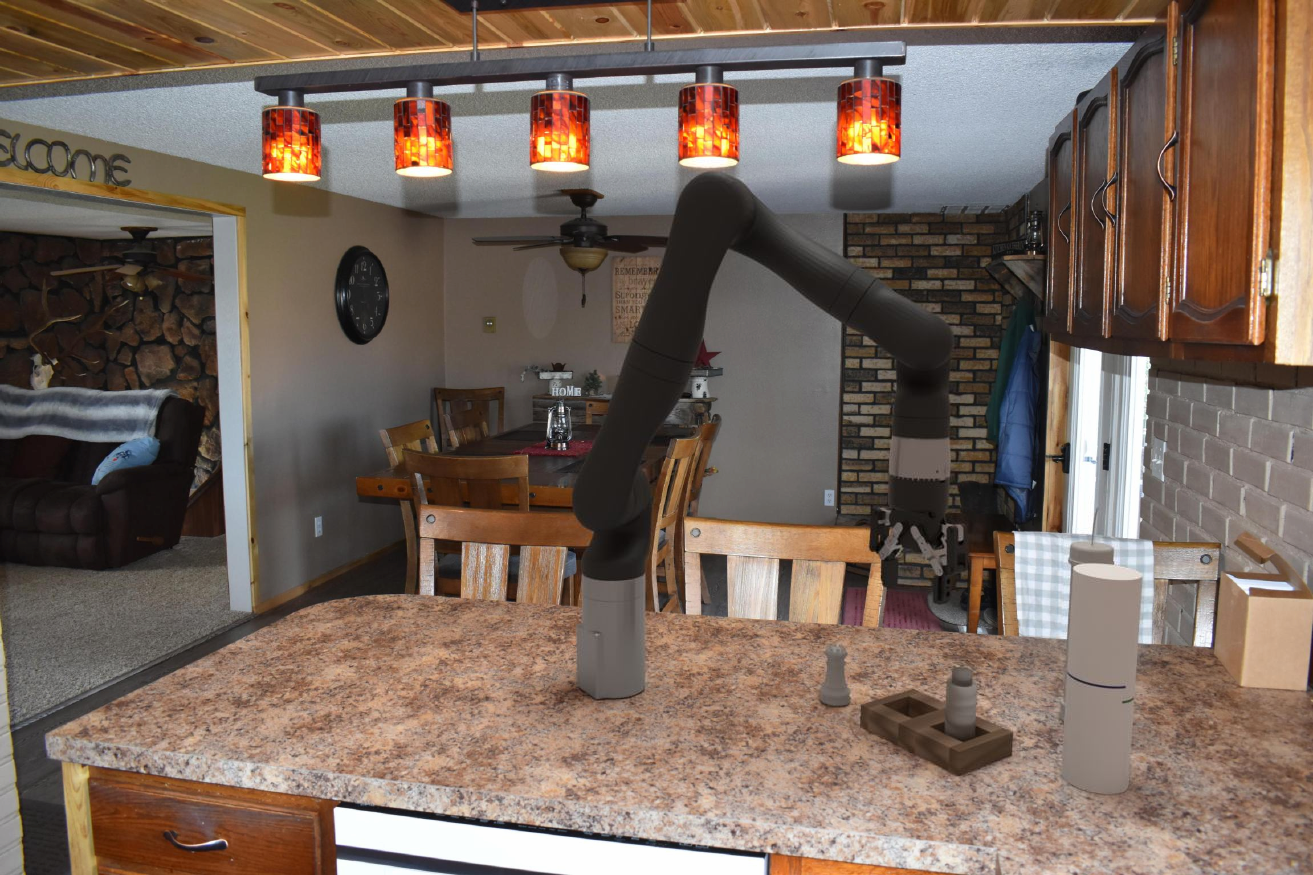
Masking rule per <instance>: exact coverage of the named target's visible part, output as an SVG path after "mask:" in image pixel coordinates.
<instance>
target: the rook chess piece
mask: <svg viewBox="0 0 1313 875" xmlns="http://www.w3.org/2000/svg"><path fill="white" fill-rule="evenodd" d="M823 653H824V654H825V656H826V658H827V660H826V661H825V665H826V673H825V678H824V680H823V682H822V685H821V686H820V688H819V692H820V694H819V695H818V697H819V700H820V701H821V702H822V703H823V704H824V705H827V706H829V707H830V706H831V707H844V706H846V705H847V706H848V704H849V703H850V701H851V699H852V698H851V696H850V695H851V690H850V688H849V687H848V683H847V682H846V681H847V680H846V674H845V666H846V665H847V664H846V661H845V659H846V658H847V657H848V652H847V650H846V645H843V644H842V643H839V644H838V646H837V643H832V644H831V643H829V644H827V646H826V650H824V652H823Z"/></svg>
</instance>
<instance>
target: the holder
mask: <svg viewBox="0 0 1313 875" xmlns="http://www.w3.org/2000/svg"><path fill="white" fill-rule="evenodd" d="M973 673H974V672H973V670H972V669H971V668H967V667H963V666H956V667H953V668H952V670H951V677H949V678H948V679H947V680H946V684H945V685H946V688H945V702H944V701H942V700H940V699H937V698H935V697H933V696H931V695H928V694H926V693H923V692H922V691H919V690H918V689H914V688H912V689H908V690H905V691H901V692H898V693H895V694H892V695H888V696H886V697H882V698H879V699H875V700H871V701H869V702H865V703H861V704H860V721H859V726H860V727H861V728H862V729H865V730H867V731H869V732H870V733H872V734H875V735H877V736H879V737H880V738H883V739H884V740H886V741H888V742H890V743H892V744H894V745H896V746H898V747H900V748H902V749H903V750H906V751H908V752H909V753H912V754H914V755H916V756H918V757H920V758H921V759H924V760H926V761H928V762H930V763H932V764H933V765H936V766H937V767H939V768H941V769H943V770H945V771H947V772H950V773H951V774H953V775H955V776H957V777H959V776H962V775H964V774H967V773H969V772H972V771H975V770H977V769H979V768H982V767H985V766H989V765H991V764H993V763H996V762H998V761H1000V760H1003V759H1006V758H1008V757H1010V756H1013V744H1014V743H1013V742H1014V732H1013V731H1012V730H1010V729H1008V728H1004V727H1003V726H1000V725H998V724H995V723H994V722H992V721H988V720H986V719H984V718H982V717H979V716H977V700H978V699H977V698H978V683H977V682H976V681H974V680H973Z"/></svg>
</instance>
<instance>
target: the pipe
mask: <svg viewBox="0 0 1313 875" xmlns="http://www.w3.org/2000/svg"><path fill="white" fill-rule="evenodd" d="M1096 507H1097V508H1096V509H1095V512H1094V517H1093V524H1092V531H1091V532H1092V533H1091V540H1089V541H1087V540H1079V541H1078V540H1077V541H1074V542H1071V544H1070V546H1069V556H1068V558H1067V563H1068V565H1069V564H1070V565H1071V566H1070V579H1069V580H1070V583H1069V600H1068V616H1067V633H1066V651H1065V665H1064V666H1065V667H1064V680H1063V681H1064V684H1063V696H1062V697H1060V700H1059V706H1060V715H1059V717H1060V719H1061V721H1062V722H1063V723H1064V715H1065V698H1066V681H1067V664H1068V647H1069V630H1070V613H1071V596H1072V579H1073V567H1074V566H1076V565H1079V564H1089V563H1096V564H1109V565H1115V561H1114V556H1115V555H1114V554H1115V547H1113V546H1112V545H1110V544H1108V543H1104V542H1099V541H1094V539H1095V538H1094V536H1095V528H1096V520H1097V516H1098V511H1099V508H1100V507H1099V506H1096Z"/></svg>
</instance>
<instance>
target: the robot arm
mask: <svg viewBox="0 0 1313 875" xmlns="http://www.w3.org/2000/svg"><path fill="white" fill-rule="evenodd" d="M678 197H679V198H678V200H677V202H676V206H675V211H674V213H673V214H674V215H673V219H672V222H671V226H670V231H669V235H668V238H667V243H666V247H665V250H664V255H663V257H662V260H661V264H660V268H659V270H658V272H657V276H656V278H655V281H654V283H653V285H652V287H651V289H650V292H649V294H648V297H647V299H646V302H645V305H644V307H643V310H642V312H641V315H640V317H639V319H638V320H639V321H638V323H637V326H636V328H635V329H634V333H633V334H632V338H631V341H630V344H629V347H628V349H627V351H626V355H625V358H624V359H623V364H622V366H621V369H620V373H619V375H618V378H617V381H616V384H615V386H614V390H613V391H612V395H611V397H610V400H609V402H608V406H607V409H606V412H605V415H604V417H603V421H602V424H601V425H600V429H599V431H598V433H597V436H596V437H595V440H594V442H593V444H592V446H591V448H590V450H589V452H588V453H587V456H586V459H585V461H584V462H583V464H582V466H581V469H579V470H580V471H579V472H578V474H577V477H576V479H575V481H574V484H573V486H572V493H571V506H572V511H573V512H574V513H573V514H574V516H575V518H576V520H577V521H578V523H579V524H580V525H581V526H582V527H584V528H585V529H587V530H589V531H591V532H593V533H592V536H591V540H590V541H589V544H588V546H587V547H586V549H585V550H584V551H583V554H582V556H581V622H579V623H577V624H576V628H575V629H576V686H577V687H578V688H579V689H581V690H582V691H584V692H585V693H587V694H588V695H589V696H591V697H592V698H594V699H595V700H601V699H622V698H629V697H632V696H635V695H638V694H639V693H641V692H642V691H643V690H644V689H646V564H647V563H646V562H647V558H648V555H649V554H650V553H649V552H650V548H651V543H652V542H651V541H652V523H653V522H652V518H653V516H652V515H653V495H652V494H653V493H652V486H651V482H650V480H649V477H648V475H647V474H646V472H645V470H643V469H642V468H641V463H642V461H643V458H644V456H645V453H646V451H647V449H648V447H649V445H650V444H651V442H652V440H653V439H654V437H655V436H656V434H658V432H659V430H660V429H661V427H662V426H663V425H664V423H665V422H666V420H667V419H668V418H669V417H670V415H671V413H672V412H673V410H674V409H675V408H676V406H677V404H678V403H679V401H680V399H681V398H682V396H683V394H684V392H685V391H686V390H685V389H686V388H687V386H688V383H689V380H690V378H691V375H692V372H693V370H694V368H695V366H696V362H697V360H698V357H699V353H700V351H701V346H702V343H703V337H704V333H705V326H706V320H707V310H708V305H709V304H708V303H709V297H710V293H711V291H712V288H713V284H714V282H715V279H716V276H717V273H718V272H719V269H720V266H721V264H722V262H723V260H724V257H726V254H727V251H728V250H731V251H732V252H735V253H737V254H740V255H742V256H745V257H747V258H749V259H751V260H753V261H754V262H756V263H758V264H760V265H761V266H763V267H764V268H767V269H768V270H769V271H771V272H772V273H774V274H776V276H778V277H779V278H781V279H782V280H783V281H785V282H786V283H787V284H789V285H790V287H791V288H793V289H794V290H795V291H797V292H798V293H799V294H800V295H802V297H804V298H805V299H807V300H808V301H809V302H810V303H812V304H814V305H815V306H816V307H817V308H819V309H820V310H822V311H823V312H824V313H826V314H828V315H829V316H831V317H833V318H834V319H836V320H837V321H839V322H840V323H842V324H843V325H844V326H847V327H848V328H850V329H852V330H853V331H856V332H857V333H859V334H860V335H861V334H862V335H864V336H865V337H867V338H868V339H869V340H870V341H872V342H873V343H874V344H876V345H877V346H879V348H881V349H882V350H884V351H885V352H886V353H888V354H889V355H890V356H892V358H895V367H896V368H895V373H896V374H895V375H896V376H895V378H896V380H895V381H896V384H895V385H896V391H895V396H894V401H893V410H892V424H891V425H892V430H891V432H892V433H891V435H892V436H891V441H890V442H891V443H890V449H889V459H888V461H889V462H888V487H887V488H888V489H887V490H888V491H887V493H888V494H887V504H888V506H889V507H888V506H884V507H878V508H873V509H872V510H871V518H870V530H869V539H868V540H869V542H868V548H869V551H870V552H871V553H875V554H877V555H878V557H879V559H880V582H881V584H882V587H883V588H886V589H891V588H895V587H897V586H898V584H899V583H898V581H899V579H898V578H899V558H897V557H898V556H899V555H900V553H901V552H902V551H903V549H906V550H907V549H912V550H913V551H915V552H918V553H922V555H923V556H924V558H925V560H926V561H928V562H929V563H930V565H931V566H932V568H933V569H932V570H933V571H934V573H935V575H933V585H932V588H933V589H932V590H933V591H932V602H933V604H936V605H939V606H940V605H945V604H947V603H948V602H949V600H951V598H952V593H953V592H952V590H953V576H954V575H955V574H960V573H964V572H967V571H968V569H969V564H968V562H969V560H968V558H969V557H968V547H969V546H968V527H967V525H966V524H964V523H962V524H961V523H960V524H951V523H947V520H946V513H947V510H948V508H949V506H950V488H951V487H950V483H951V460H952V459H951V456H952V455H951V454H952V453H951V446H950V445H951V444H950V434H951V433H950V432H951V431H950V430H951V429H950V428H951V400H950V394H949V389H950V388H949V386H950V375H951V364H952V362H951V361H952V353H953V350H954V347H955V337H954V333H953V330H952V328H951V327H950V325H949V324H948V322H947V321H946V320H945V319H943V318H942V317H940V316H938V315H937V314H935V313H933V312H932V311H930V310H928V309H926V308H925V307H923V306H921V305H919V304H918V303H916V302H914V301H913V300H910V299H908V298H907V297H905V296H903V295H901V294H899V293H897V292H895V290H893V289H892V288H891V287H890V286H889V285H887V284H886V283H885V282H883V281H882V280H881V279H879V278H878V277H876V276H875V275H873V274H872V273H870V272H868V271H867V270H866V269H863V268H862V267H860V266H859V265H857V264H856V263H854V262H853V261H851V260H850V259H847V258H846V257H844V256H843V255H841V254H839V253H837V252H835V251H833V250H832V249H830V248H828V247H826V246H825V245H823V244H821V243H819V242H817V241H815V240H813V239H812V238H810V237H808V236H807V235H805V234H803V233H802V232H801V231H799V230H798V229H796V228H795V227H794V226H792V225H790V224H789V223H787V221H785V220H784V219H783V218H781V217H780V216H779V215H777V214H776V213H775V212H774V211H773V210H771V209H770V208H769V207H768V206H767V205H766V204H765V203H764V202H763V201H761V199H759V198H758V197H757V195H755V194H754V193H753V191H751V189H750V188H749V187H748V186H747V185H746V184H745V183H744V182H743V181H741V180H740V179H739V178H737V177H734V176H733V175H730V174H729V173H725V172H722V171H718V170H709V171H706V172H702V173H701V172H700V174H697V175H696V176H695V177H693V178H692V179H690V180H689V182H687V184H685V186H684V188H683V189H682V191H681V192H680V195H679V196H678ZM890 528H892V531H891V532H890V530H891V529H890ZM935 548H937V549H935Z"/></svg>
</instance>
